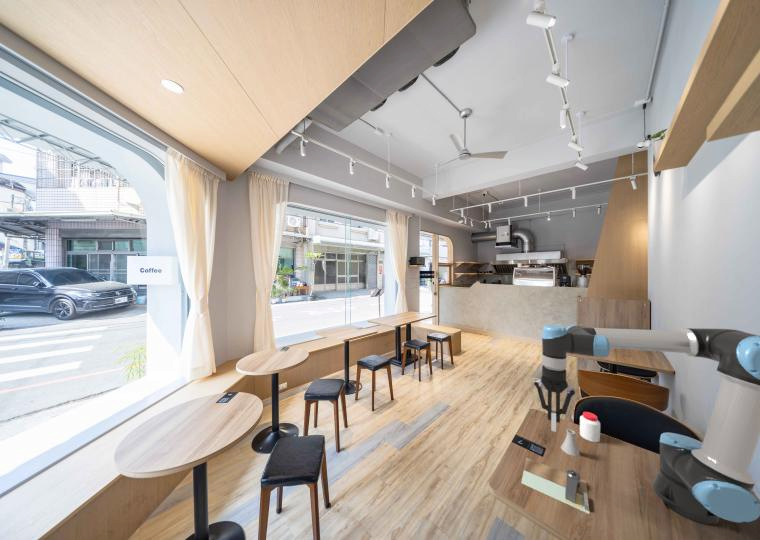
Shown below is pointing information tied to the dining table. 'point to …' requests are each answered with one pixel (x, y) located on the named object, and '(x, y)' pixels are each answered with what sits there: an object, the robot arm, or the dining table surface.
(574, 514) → the dining table surface
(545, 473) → the board
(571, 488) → the latch bar
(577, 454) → the flask
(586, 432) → the pill bottle
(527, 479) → the door panel
